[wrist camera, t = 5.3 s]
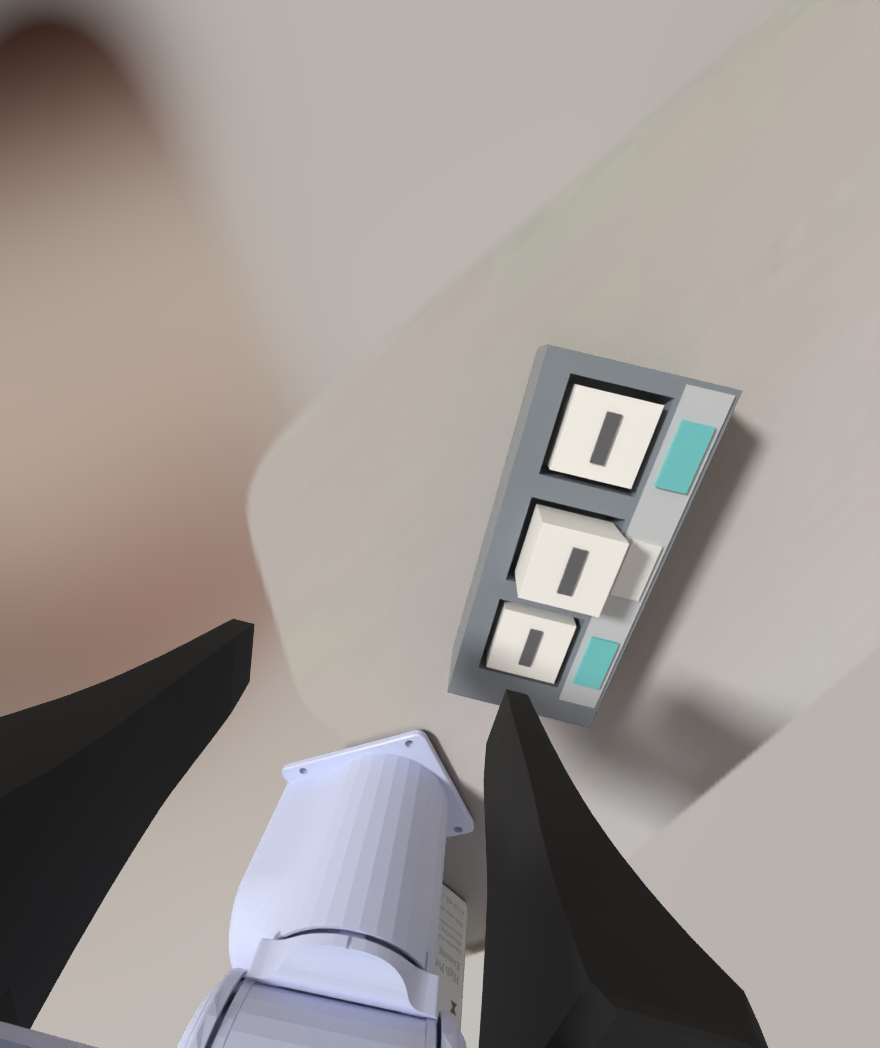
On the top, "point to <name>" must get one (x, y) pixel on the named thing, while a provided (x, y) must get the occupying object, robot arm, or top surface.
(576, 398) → the button
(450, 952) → the skincare box
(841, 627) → the top surface
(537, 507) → the button middle
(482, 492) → the top surface
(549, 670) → the button
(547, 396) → the console
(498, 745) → the robot arm
